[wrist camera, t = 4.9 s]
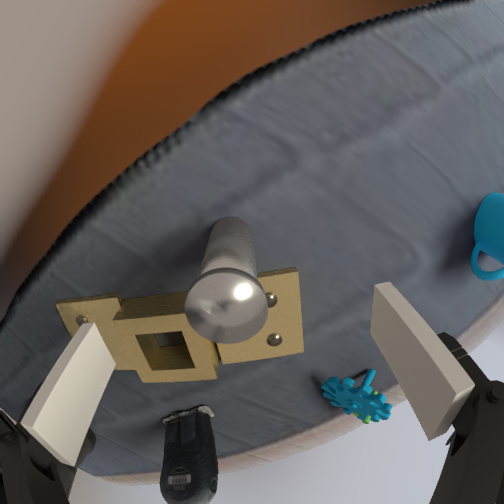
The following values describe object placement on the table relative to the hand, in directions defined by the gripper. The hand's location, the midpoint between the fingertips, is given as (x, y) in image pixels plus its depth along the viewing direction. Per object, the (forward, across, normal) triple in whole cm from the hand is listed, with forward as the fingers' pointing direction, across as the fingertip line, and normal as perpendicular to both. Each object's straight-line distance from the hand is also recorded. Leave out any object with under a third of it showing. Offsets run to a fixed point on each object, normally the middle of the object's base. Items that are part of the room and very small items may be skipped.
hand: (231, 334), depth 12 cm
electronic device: (+14, -12, -26) cm, 32 cm away
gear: (+15, +9, -23) cm, 29 cm away
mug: (+15, +31, -4) cm, 35 cm away
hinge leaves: (+14, -8, -9) cm, 19 cm away
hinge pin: (+14, 0, 0) cm, 14 cm away
